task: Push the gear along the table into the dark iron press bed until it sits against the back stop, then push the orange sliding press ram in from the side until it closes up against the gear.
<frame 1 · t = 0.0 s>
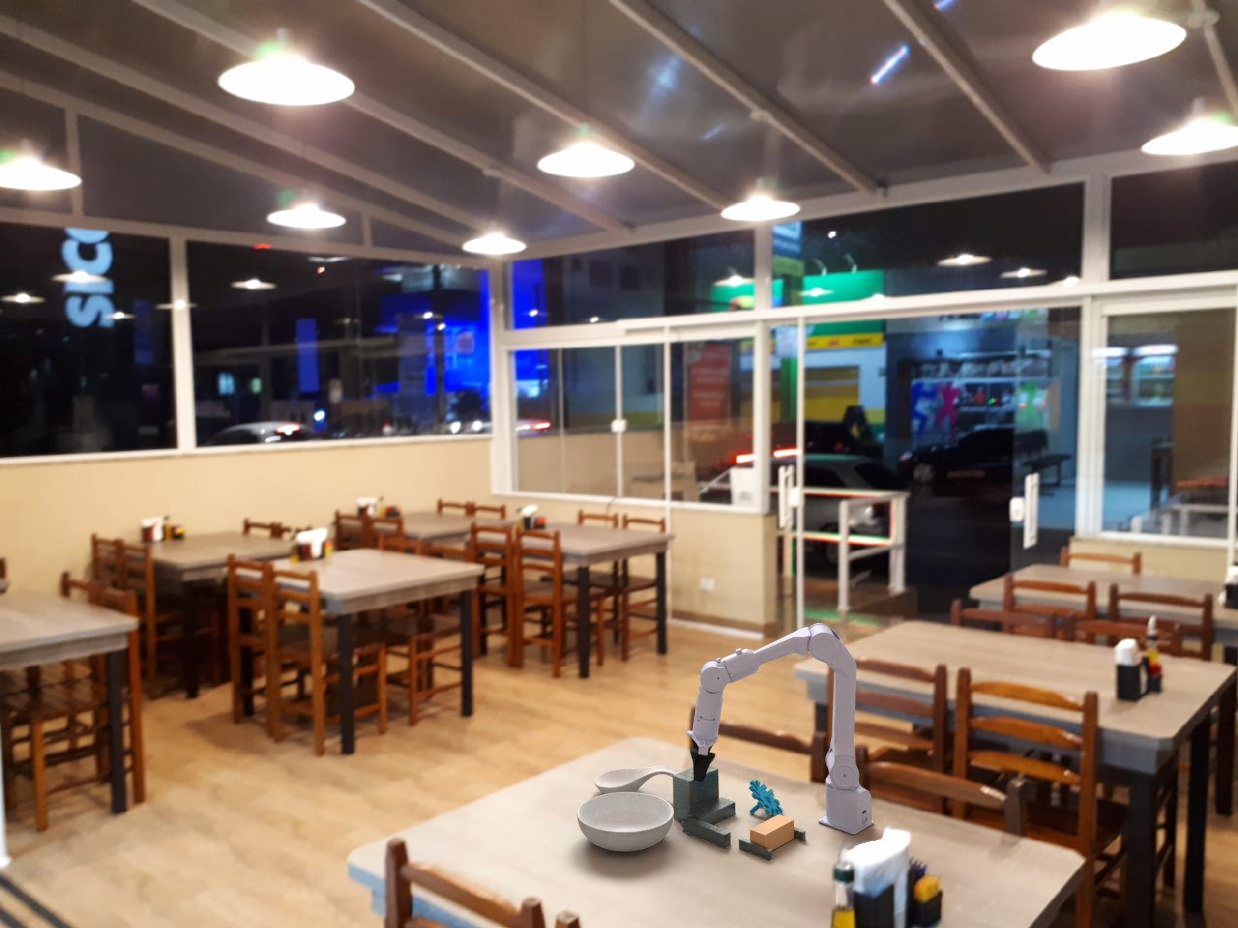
hand: (698, 773, 215), 11 cm above the table, tool pointing down, fingers open, 7 cm apart
spoon rest: (642, 795, 231), on the table
gear: (766, 815, 217), on the table
press bed: (735, 829, 210), on the table
press ram: (772, 833, 202), point 2 cm above the table, slide at 0.0 cm
serving bowl: (626, 842, 206), on the table
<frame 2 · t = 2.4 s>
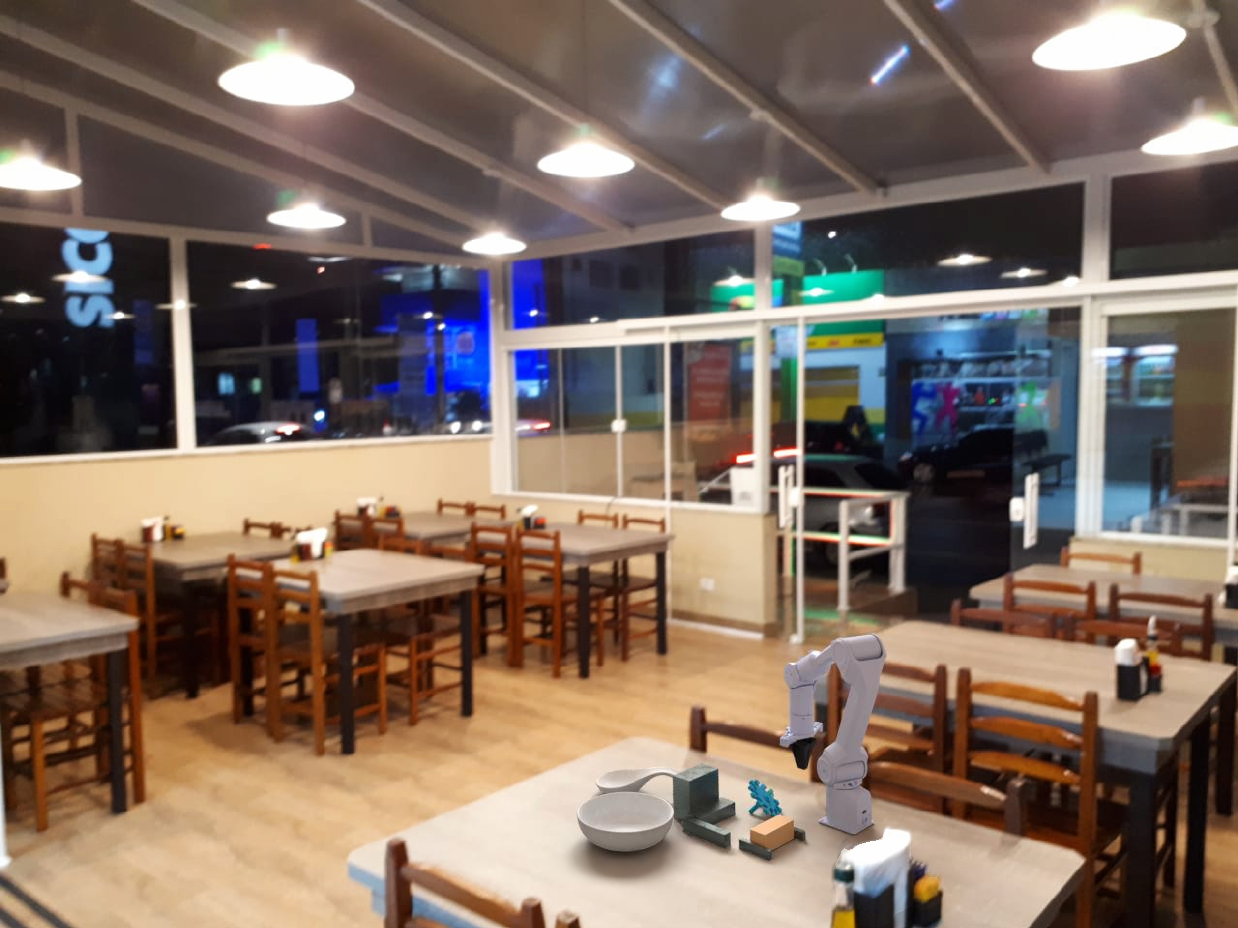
hand: (802, 768, 226), 7 cm above the table, tool pointing down, fingers closed
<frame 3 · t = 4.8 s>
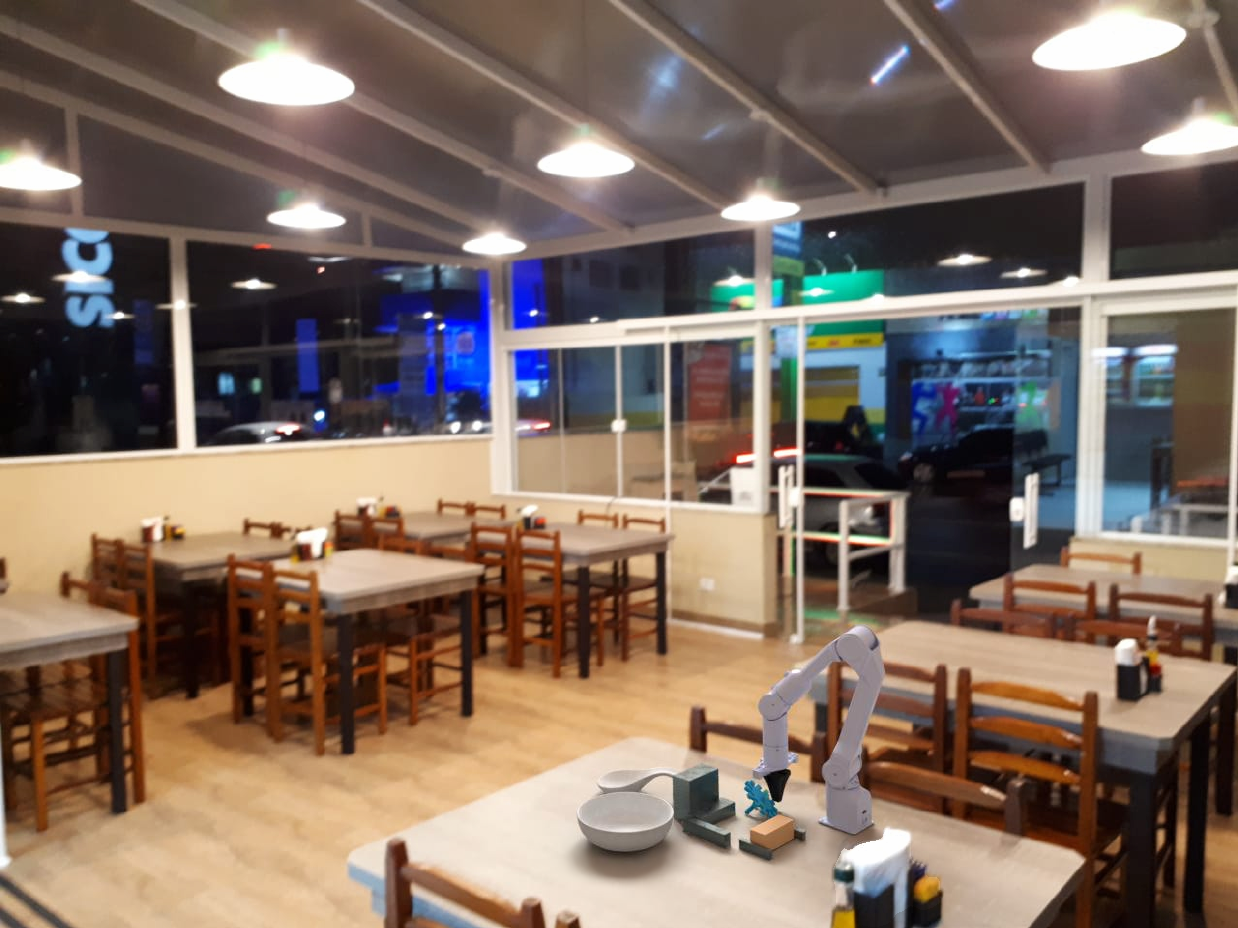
hand: (776, 800, 220), 2 cm above the table, tool pointing down, fingers closed
gear: (761, 815, 217), on the table, touching gripper
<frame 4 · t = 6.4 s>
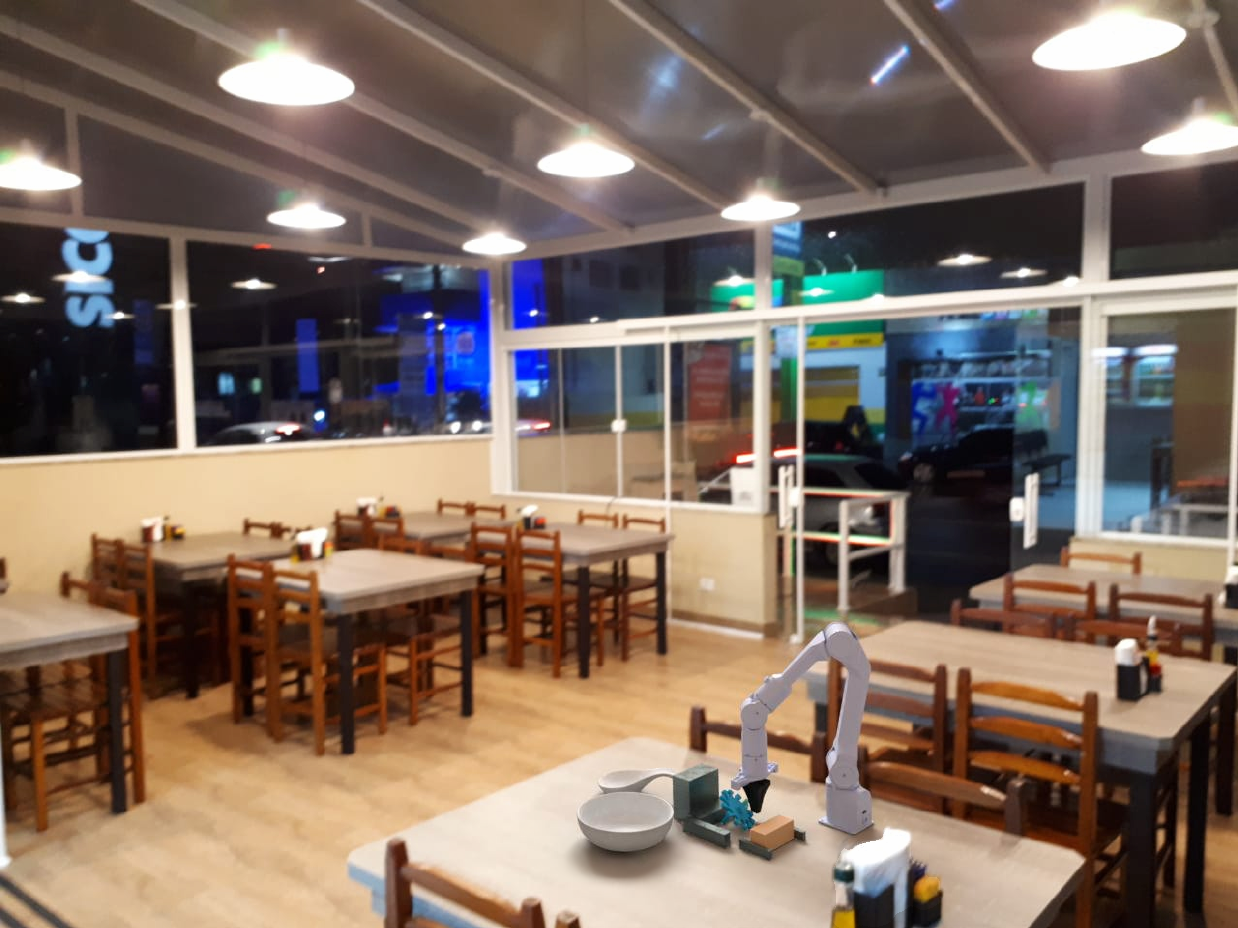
hand: (755, 811, 214), 2 cm above the table, tool pointing down, fingers closed
gear: (738, 826, 212), on the table, touching gripper
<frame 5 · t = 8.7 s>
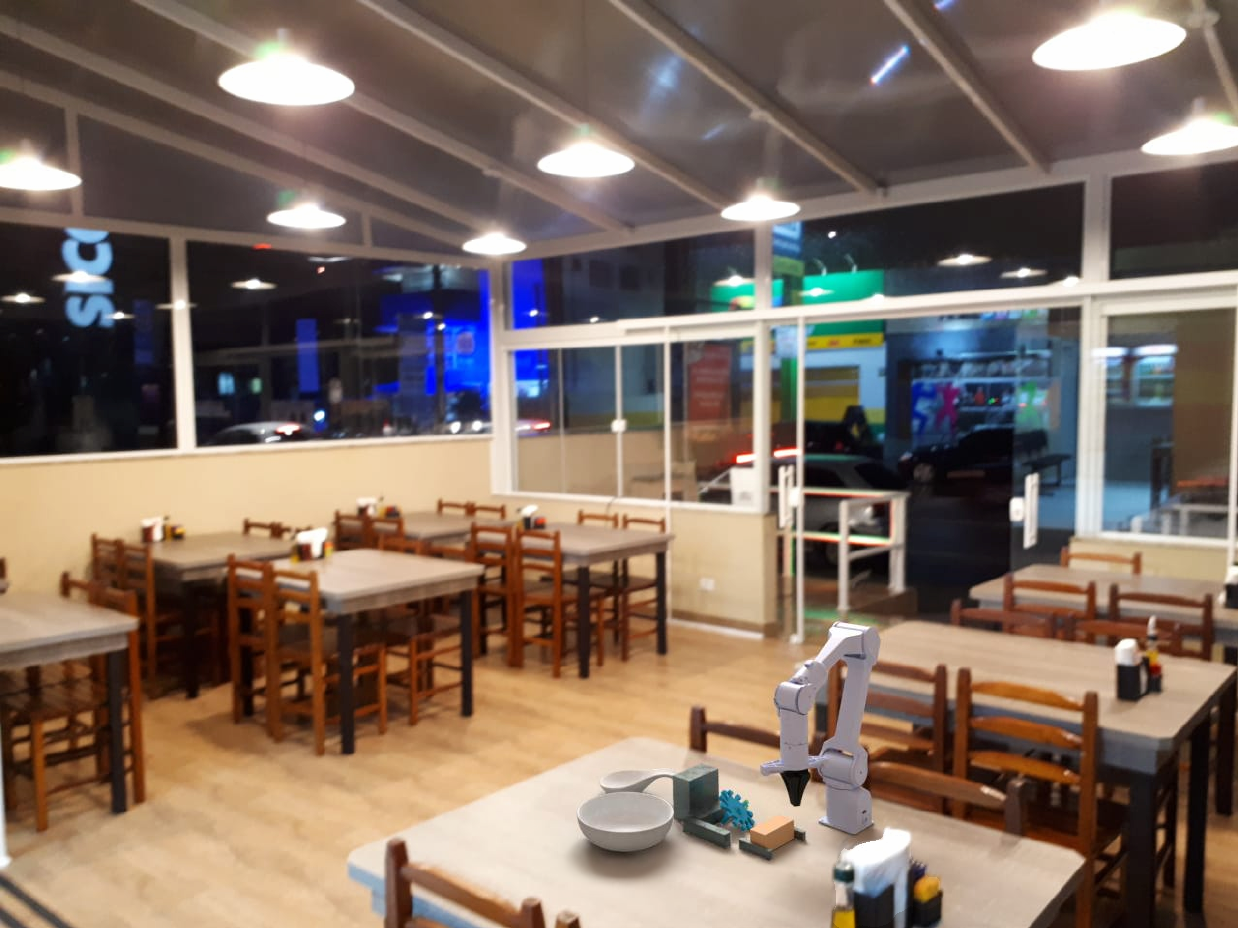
hand: (795, 804, 198), 10 cm above the table, tool pointing down, fingers closed
gear: (737, 826, 212), on the table, touching press bed
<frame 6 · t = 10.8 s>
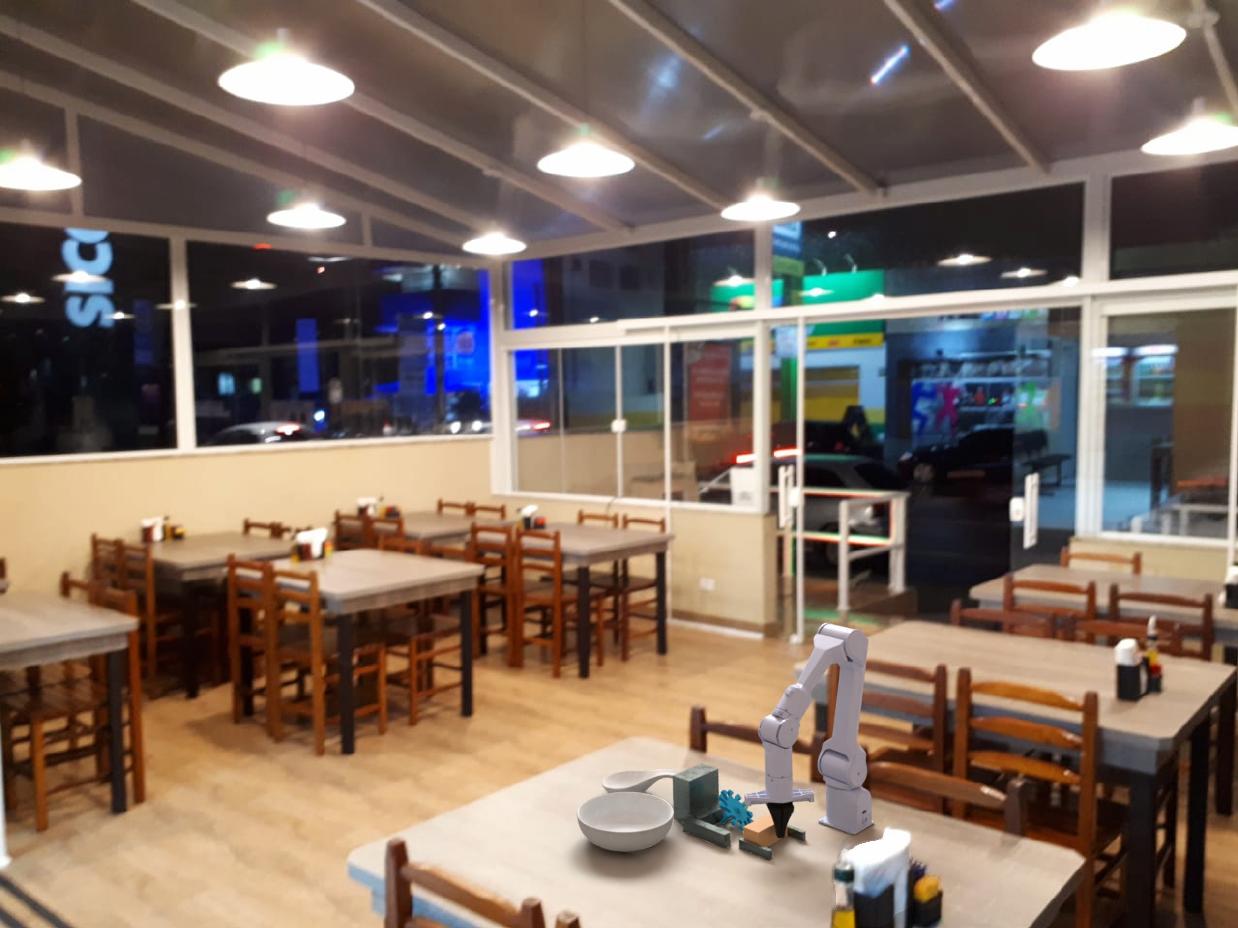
hand: (780, 835, 201), 2 cm above the table, tool pointing down, fingers closed
gear: (737, 826, 212), on the table
press ram: (765, 830, 203), point 2 cm above the table, slide at 1.8 cm, touching gripper
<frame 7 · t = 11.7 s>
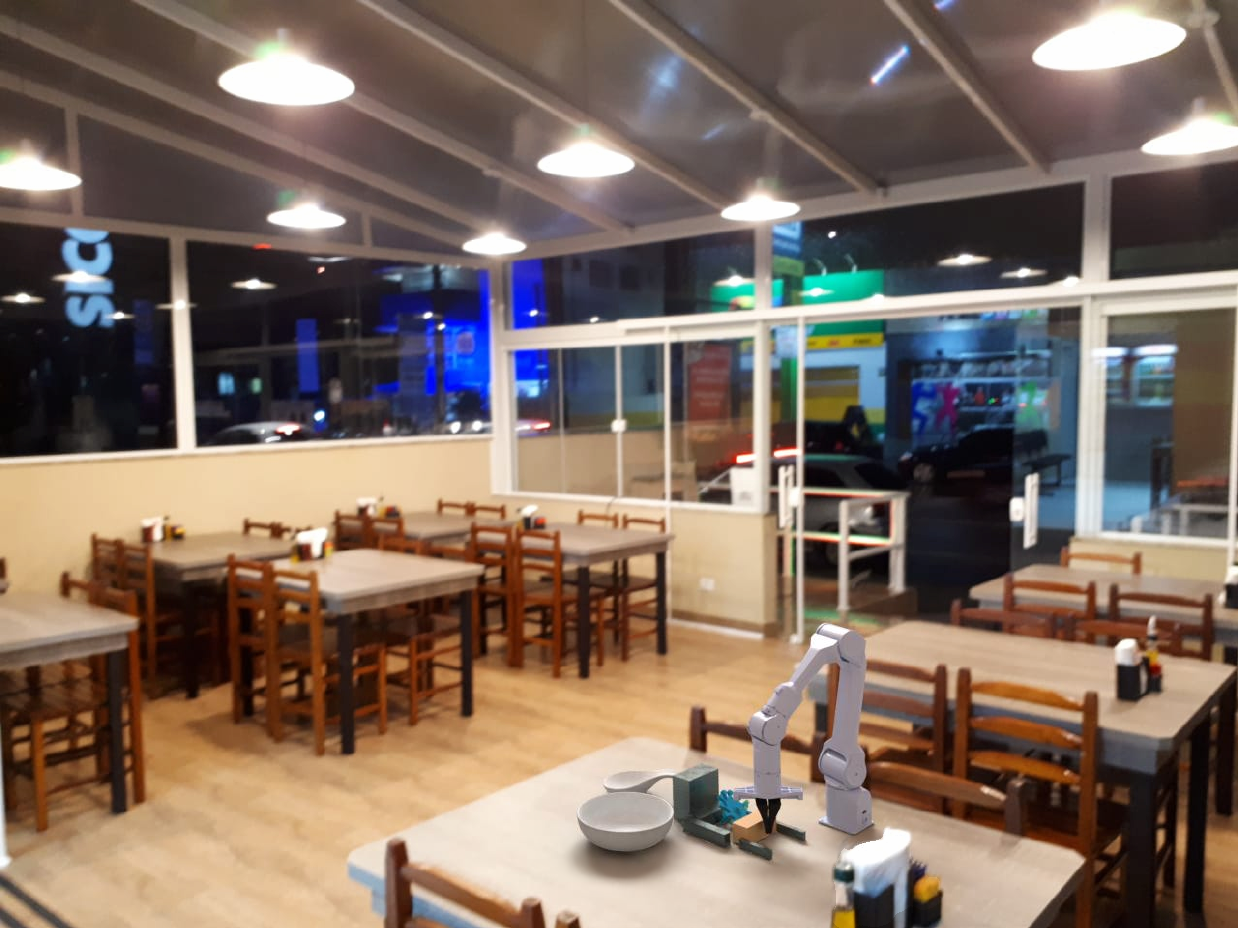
hand: (768, 831, 203), 2 cm above the table, tool pointing down, fingers closed
press ram: (754, 826, 206), point 2 cm above the table, slide at 4.7 cm, touching gripper
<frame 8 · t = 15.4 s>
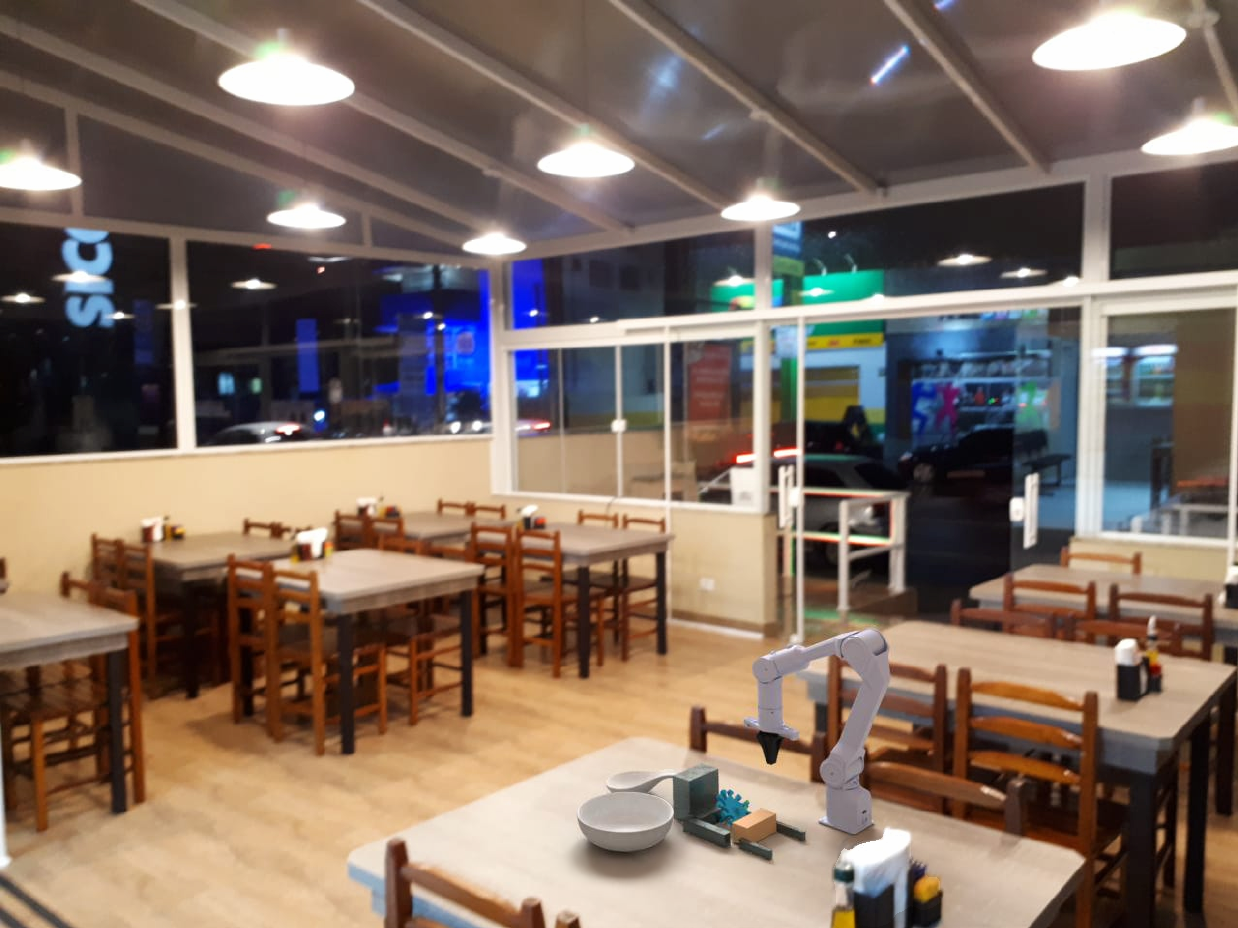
hand: (771, 762, 223), 9 cm above the table, tool pointing down, fingers closed
gear: (736, 826, 212), on the table, touching press bed
press ram: (754, 826, 206), point 2 cm above the table, slide at 4.7 cm
at the end: gear 2.4 cm from the target spot, on the table; press ram slide at 4.7 cm; gear tilted 0° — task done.
